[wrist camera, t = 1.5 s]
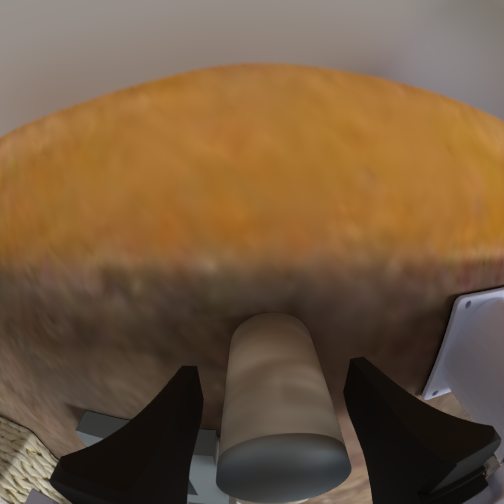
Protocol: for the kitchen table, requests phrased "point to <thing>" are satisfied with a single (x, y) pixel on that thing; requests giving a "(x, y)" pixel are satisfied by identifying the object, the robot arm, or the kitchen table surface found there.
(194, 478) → the collar block
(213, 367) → the kitchen table surface
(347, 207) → the kitchen table surface
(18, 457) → the storage basket
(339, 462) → the long pin
